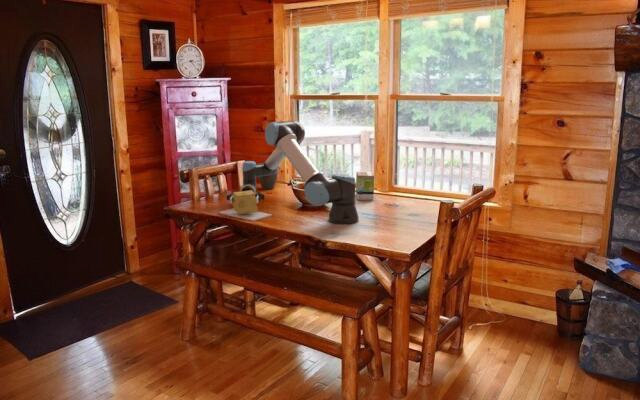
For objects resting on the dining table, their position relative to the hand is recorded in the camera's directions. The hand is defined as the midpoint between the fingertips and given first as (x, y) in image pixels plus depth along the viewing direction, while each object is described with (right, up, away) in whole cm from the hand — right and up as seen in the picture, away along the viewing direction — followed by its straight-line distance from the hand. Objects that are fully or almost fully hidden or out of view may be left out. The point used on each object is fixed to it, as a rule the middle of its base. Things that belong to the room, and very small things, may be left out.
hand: (243, 200), depth 269 cm
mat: (0, -7, +5) cm, 9 cm away
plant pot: (+5, +8, +70) cm, 71 cm away
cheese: (0, -6, +4) cm, 7 cm away
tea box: (+66, +2, +43) cm, 79 cm away
